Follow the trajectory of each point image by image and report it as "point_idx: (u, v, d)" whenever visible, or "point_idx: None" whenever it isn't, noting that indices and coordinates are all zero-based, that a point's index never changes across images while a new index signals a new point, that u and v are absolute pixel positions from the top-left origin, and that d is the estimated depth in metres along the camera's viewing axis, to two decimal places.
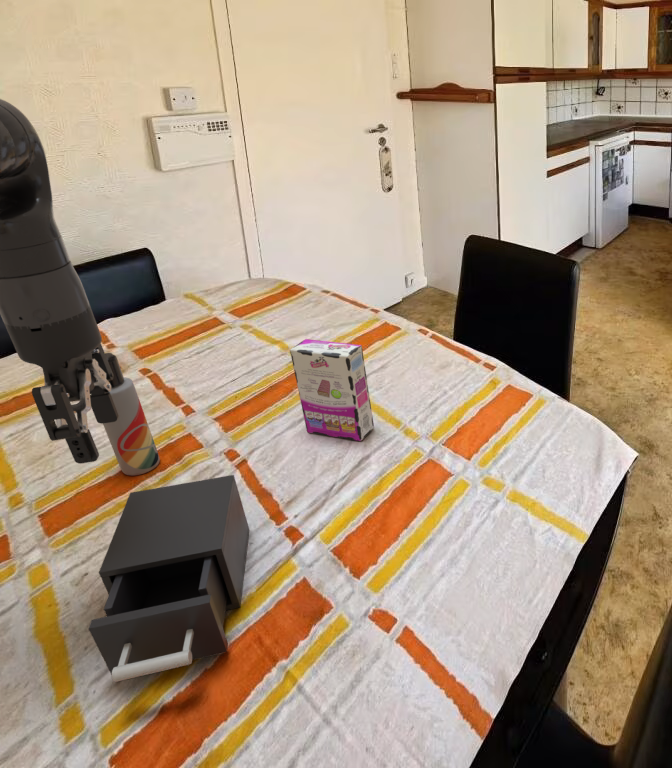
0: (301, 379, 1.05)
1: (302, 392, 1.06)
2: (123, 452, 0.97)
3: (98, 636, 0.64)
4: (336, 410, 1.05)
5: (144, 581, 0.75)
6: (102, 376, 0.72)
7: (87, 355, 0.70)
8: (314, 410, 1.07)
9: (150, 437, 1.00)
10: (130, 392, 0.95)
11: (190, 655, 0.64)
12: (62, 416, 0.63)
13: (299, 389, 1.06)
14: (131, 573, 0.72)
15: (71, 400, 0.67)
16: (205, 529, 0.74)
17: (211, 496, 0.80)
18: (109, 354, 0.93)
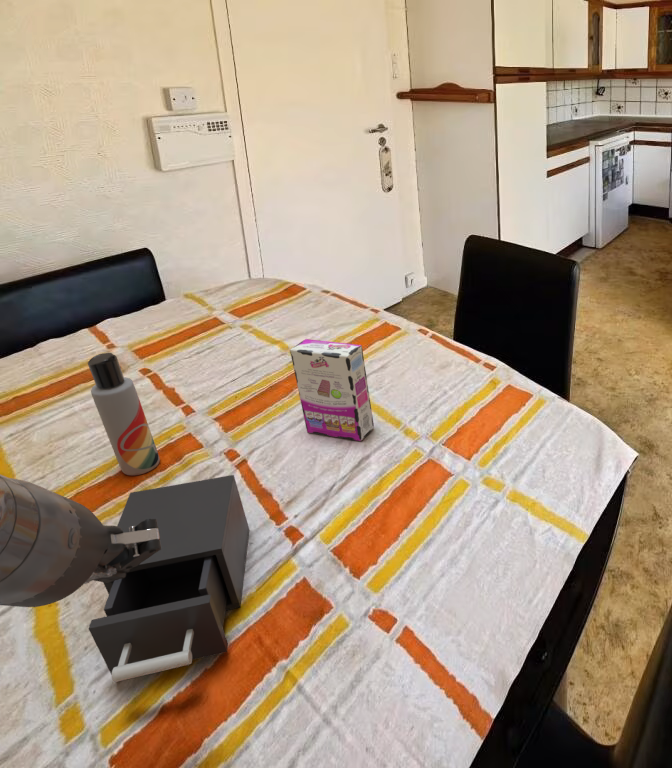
0: (301, 379, 1.05)
1: (302, 392, 1.06)
2: (123, 452, 0.97)
3: (98, 636, 0.64)
4: (336, 410, 1.05)
5: (144, 581, 0.75)
6: (94, 577, 0.49)
7: None
8: (314, 410, 1.07)
9: (150, 437, 1.00)
10: (130, 392, 0.95)
11: (190, 655, 0.64)
12: None
13: (299, 389, 1.06)
14: (131, 573, 0.72)
15: None
16: (205, 529, 0.74)
17: (211, 496, 0.80)
18: (109, 354, 0.93)
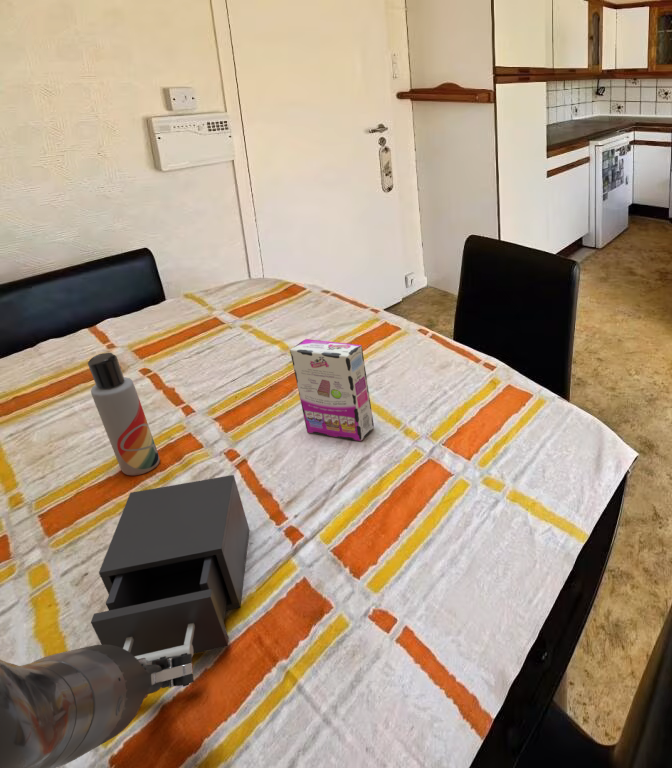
0: (301, 379, 1.05)
1: (302, 392, 1.06)
2: (123, 452, 0.97)
3: (100, 630, 0.64)
4: (336, 410, 1.05)
5: (145, 576, 0.76)
6: None
7: None
8: (314, 410, 1.07)
9: (150, 437, 1.00)
10: (130, 392, 0.95)
11: (191, 649, 0.64)
12: None
13: (299, 389, 1.06)
14: None
15: None
16: (205, 529, 0.74)
17: (211, 496, 0.80)
18: (109, 354, 0.93)
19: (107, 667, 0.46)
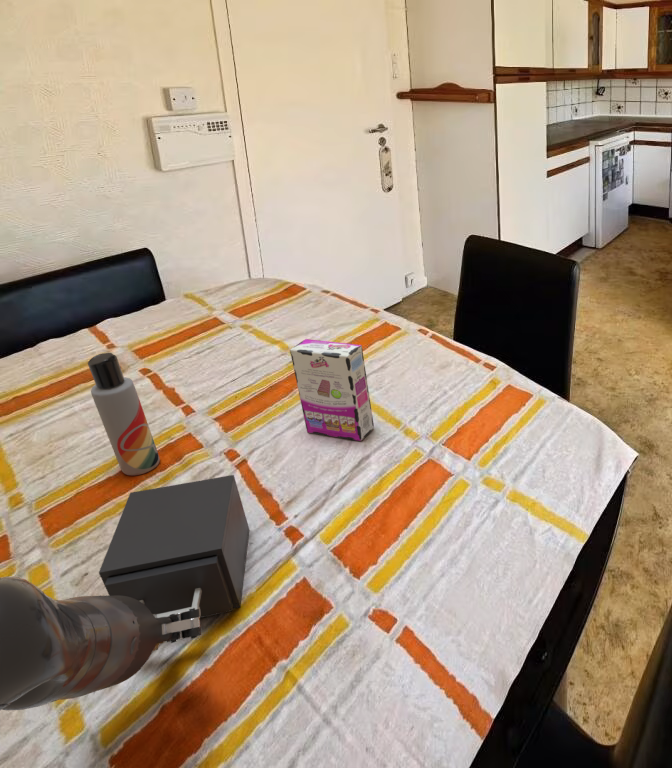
0: (301, 379, 1.05)
1: (302, 392, 1.06)
2: (123, 452, 0.97)
3: (113, 593, 0.69)
4: (336, 410, 1.05)
5: None
6: None
7: None
8: (314, 410, 1.07)
9: (150, 437, 1.00)
10: (130, 392, 0.95)
11: None
12: None
13: (299, 389, 1.06)
14: None
15: None
16: (205, 529, 0.74)
17: (211, 496, 0.80)
18: (109, 354, 0.93)
19: (122, 610, 0.51)
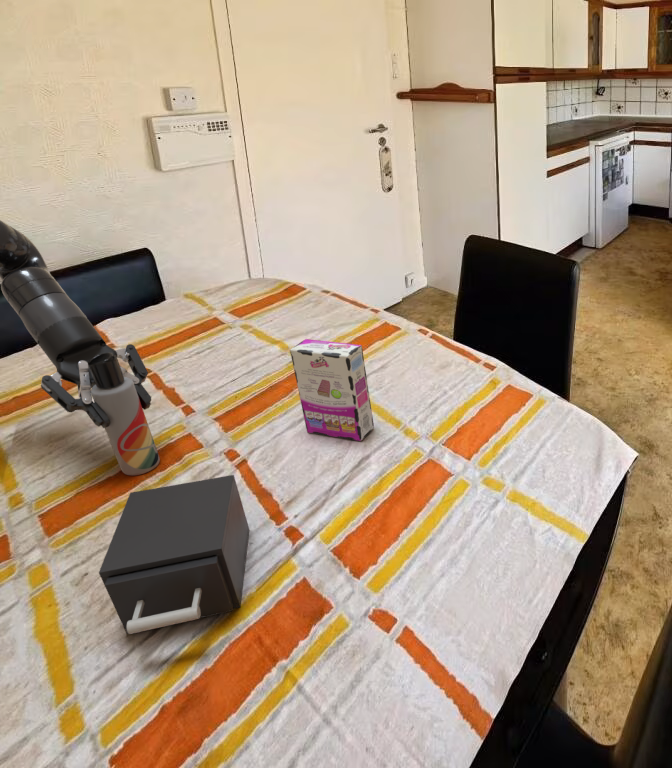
0: (301, 379, 1.05)
1: (302, 392, 1.06)
2: (123, 452, 0.97)
3: (113, 593, 0.69)
4: (336, 410, 1.05)
5: None
6: None
7: None
8: (314, 410, 1.07)
9: (150, 437, 1.00)
10: (130, 392, 0.95)
11: (198, 610, 0.69)
12: (56, 395, 0.91)
13: (299, 389, 1.06)
14: None
15: None
16: (205, 529, 0.74)
17: (211, 496, 0.80)
18: (109, 354, 0.93)
19: None
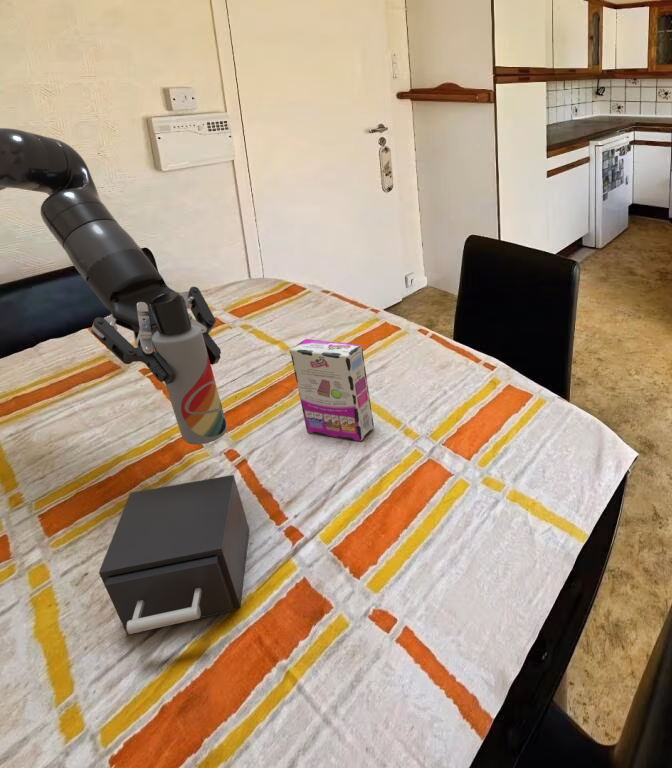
0: (301, 379, 1.05)
1: (302, 392, 1.06)
2: (188, 415, 0.80)
3: (113, 593, 0.69)
4: (336, 410, 1.05)
5: None
6: None
7: None
8: (314, 410, 1.07)
9: (218, 398, 0.83)
10: (199, 341, 0.78)
11: (198, 610, 0.69)
12: (111, 342, 0.74)
13: (299, 389, 1.06)
14: None
15: None
16: (205, 529, 0.74)
17: (211, 496, 0.80)
18: (175, 293, 0.76)
19: None
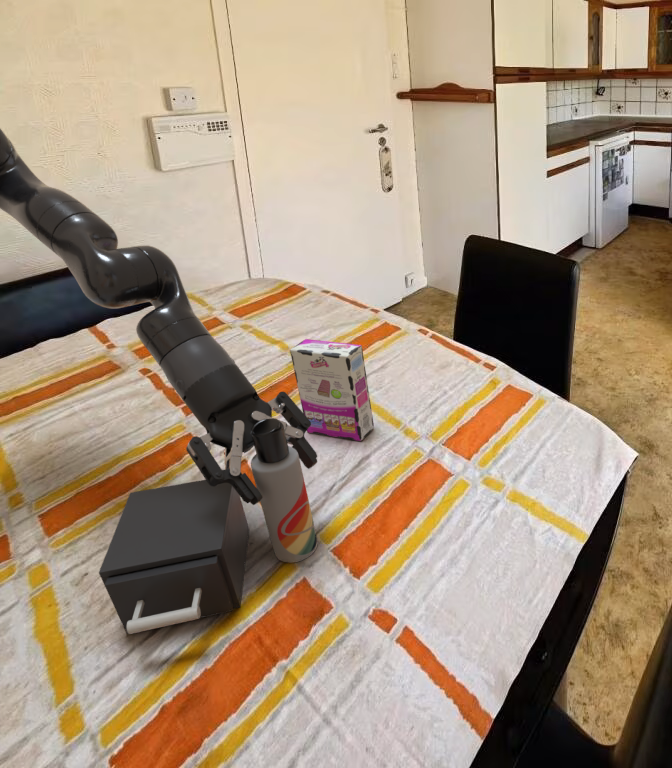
0: (301, 379, 1.05)
1: (302, 392, 1.06)
2: (283, 537, 0.80)
3: (113, 593, 0.69)
4: (336, 410, 1.05)
5: None
6: None
7: (259, 409, 0.79)
8: (314, 410, 1.07)
9: (311, 516, 0.83)
10: (297, 466, 0.77)
11: (198, 610, 0.69)
12: (202, 463, 0.73)
13: (299, 389, 1.06)
14: None
15: None
16: (205, 529, 0.74)
17: (211, 496, 0.80)
18: (275, 421, 0.76)
19: None
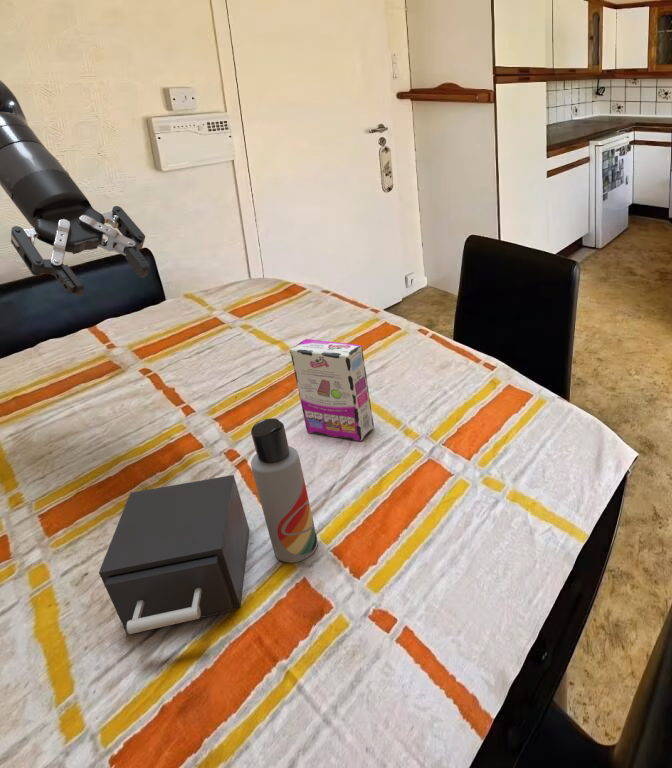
0: (301, 379, 1.05)
1: (302, 392, 1.06)
2: (283, 537, 0.80)
3: (113, 593, 0.69)
4: (336, 410, 1.05)
5: None
6: (106, 230, 0.84)
7: (90, 216, 0.84)
8: (314, 410, 1.07)
9: (311, 516, 0.83)
10: (297, 465, 0.77)
11: (198, 610, 0.69)
12: (23, 251, 0.78)
13: (299, 389, 1.06)
14: None
15: (65, 248, 0.81)
16: (205, 529, 0.74)
17: (211, 496, 0.80)
18: (275, 421, 0.76)
19: None
